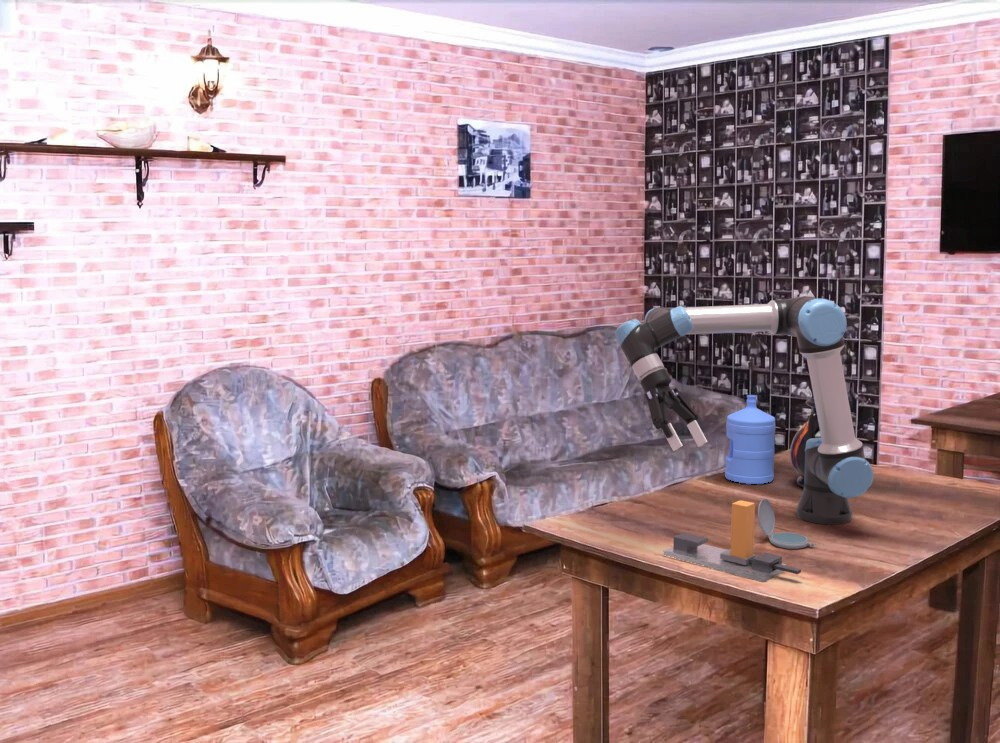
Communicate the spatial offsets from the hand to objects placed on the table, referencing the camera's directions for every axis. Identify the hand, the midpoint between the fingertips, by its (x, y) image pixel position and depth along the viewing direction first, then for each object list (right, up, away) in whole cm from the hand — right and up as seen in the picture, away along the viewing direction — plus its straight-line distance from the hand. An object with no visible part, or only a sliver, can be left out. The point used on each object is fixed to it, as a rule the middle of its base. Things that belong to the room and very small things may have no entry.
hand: (690, 446), depth 252 cm
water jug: (+34, -17, +75) cm, 84 cm away
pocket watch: (+27, -26, +9) cm, 39 cm away
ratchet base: (+7, -28, -6) cm, 30 cm away
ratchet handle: (+14, -28, -13) cm, 34 cm away
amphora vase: (+55, -18, +65) cm, 87 cm away
